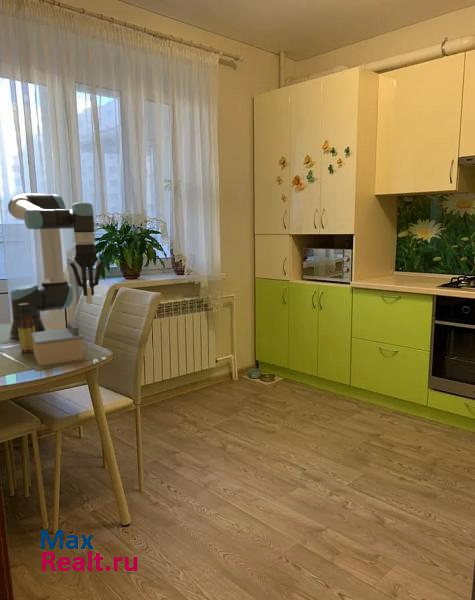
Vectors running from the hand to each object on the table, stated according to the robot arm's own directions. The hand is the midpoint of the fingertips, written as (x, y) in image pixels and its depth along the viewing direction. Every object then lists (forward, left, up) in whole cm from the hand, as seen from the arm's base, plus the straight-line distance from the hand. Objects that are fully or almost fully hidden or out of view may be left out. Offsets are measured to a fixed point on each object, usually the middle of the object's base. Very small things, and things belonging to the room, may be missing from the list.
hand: (89, 303), depth 186 cm
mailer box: (0, -13, -20) cm, 24 cm away
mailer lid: (0, -13, -12) cm, 17 cm away
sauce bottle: (-15, -22, -20) cm, 33 cm away
